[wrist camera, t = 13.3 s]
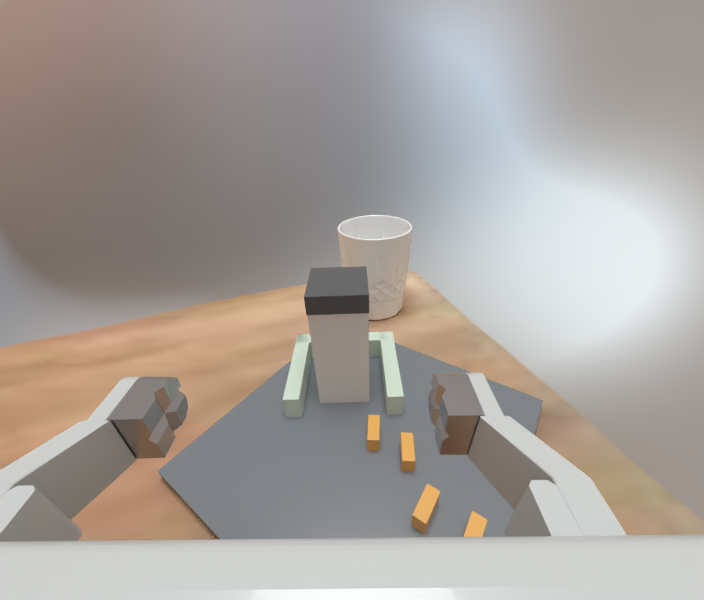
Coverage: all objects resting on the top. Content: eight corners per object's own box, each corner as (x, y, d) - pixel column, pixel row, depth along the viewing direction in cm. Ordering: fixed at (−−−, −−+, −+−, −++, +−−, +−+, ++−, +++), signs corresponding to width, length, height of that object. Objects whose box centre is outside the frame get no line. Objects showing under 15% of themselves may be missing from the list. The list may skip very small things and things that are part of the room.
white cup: (329, 306, 39) (322, 228, 33) (372, 283, 43) (371, 210, 38) (377, 333, 34) (378, 246, 29) (420, 303, 38) (427, 224, 33)
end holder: (402, 414, 24) (404, 396, 23) (286, 417, 24) (282, 399, 23) (391, 347, 30) (392, 331, 29) (300, 350, 31) (297, 334, 30)
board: (162, 477, 21) (150, 460, 20) (338, 327, 35) (337, 312, 34) (449, 790, 11) (456, 788, 10) (539, 407, 25) (546, 389, 24)
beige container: (319, 403, 25) (304, 296, 20) (323, 367, 29) (311, 268, 23) (370, 402, 25) (369, 294, 20) (368, 365, 28) (366, 266, 23)
